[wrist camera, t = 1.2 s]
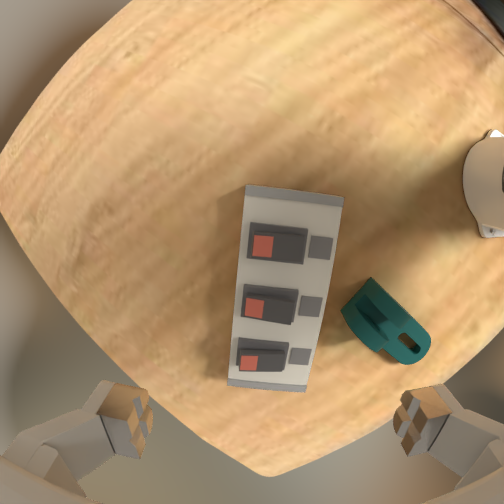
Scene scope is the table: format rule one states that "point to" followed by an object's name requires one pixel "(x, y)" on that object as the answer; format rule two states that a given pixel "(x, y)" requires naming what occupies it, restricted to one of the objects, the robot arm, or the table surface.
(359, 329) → the bracket
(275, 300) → the rocker
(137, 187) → the table surface
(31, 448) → the robot arm
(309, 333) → the power strip
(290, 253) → the rocker
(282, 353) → the rocker
